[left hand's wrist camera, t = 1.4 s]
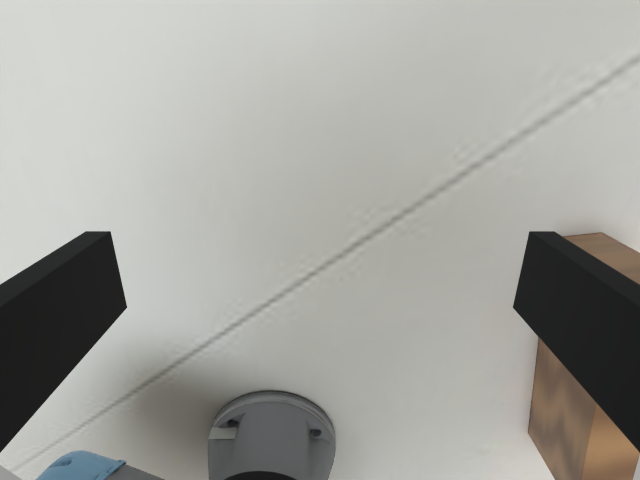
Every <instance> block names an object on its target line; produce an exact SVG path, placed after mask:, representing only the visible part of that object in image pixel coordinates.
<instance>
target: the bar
mask: <svg viewBox="0 0 640 480" xmlns="http://www.w3.org/2000/svg"><path fill="white" fill-rule="evenodd" d="M564 238H565V239H567V240H568V241H570V242H572V243H573V244H575V245H577V246H578V247H580V248H581V249H583V250H585V251H586V252H588V253H589V254H591V255H593V256H594V257H596V258H598V259H599V260H601V261H602V262H604V263H606V264H607V265H609V266H610V267H612V268H614V269H615V270H617V271H618V272H620V273H622V274H623V275H625V276H627V277H628V278H630V279H631V280H633V281H635V282H636V283H638V284H639V285H640V253H639V252H637V251H635V250H633V249H631V248H629V247H628V246H626V245H624V244H622V243H620V242H619V241H617V240H615V239H613V238H611V237H609V236H608V235H606V234H604V233H594V234H585V235H576V236H567V237H564ZM528 434H529V435H530V437H531V439H532V441H533V442H534V444H535V446H536V447H537V449H538V451H539V453H540V454H541V456H542V458H543V460H544V461H545V463H546V465H547V466H548V468H549V470H550V472H551V473H552V475H553V477H554V479H555V480H633V476H634V473H635V469H636V466H637V462H638V458H639V455H640V452H639V451H638V450H637V449H636V448H635V447H634V445H633V444H632V443H631V442H630V441H629V440H628V439H627V437H626V436H625V435H624V434H623V433H622V432H621V431H620V429H619V428H618V427H617V426H616V425H615V424H614V423H613V421H612V420H611V419H610V418H609V417H608V416H607V415H606V413H605V412H604V411H603V410H602V409H601V408H600V406H599V405H598V404H597V403H596V402H595V401H594V400H593V398H592V397H591V396H590V395H589V394H588V393H587V392H586V390H585V389H584V388H583V387H582V386H581V385H580V384H579V382H578V381H577V380H576V379H575V378H574V377H573V376H572V374H571V373H570V372H569V371H568V370H567V369H566V368H565V366H564V365H563V364H562V363H561V362H560V361H559V360H558V358H557V357H556V356H555V355H554V354H553V353H552V352H551V350H550V349H549V348H548V347H547V346H546V345H545V344H544V342H543V341H542V340H541V339H540V338H539V343H538V351H537V360H536V369H535V377H534V386H533V395H532V403H531V412H530V421H529V429H528Z"/></svg>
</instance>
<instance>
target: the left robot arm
mask: <svg viewBox="0 0 640 480" xmlns="http://www.w3.org/2000/svg"><path fill="white" fill-rule="evenodd" d="M126 308H127V305H126V301H125V296H124V291H123V287H122V282H121V278H120V273H119V268H118V264H117V259H116V255H115V250H114V245H113V241H112V236H111V232H84V233H83V234H81V235H80V236H78V237H76V238H75V239H73V240H72V241H70V242H68V243H67V244H65V245H63V246H62V247H60V248H59V249H57V250H55V251H54V252H52V253H51V254H49V255H47V256H46V257H44V258H42V259H41V260H39V261H38V262H36V263H34V264H33V265H31V266H30V267H28V268H26V269H25V270H23V271H22V272H20V273H18V274H17V275H15V276H13V277H12V278H10V279H9V280H7V281H5V282H4V283H2V284H1V285H0V452H1V451H2V450H3V449H4V448H5V447H6V445H7V444H8V443H9V442H10V441H11V440H12V439H13V437H14V436H15V435H16V434H17V433H18V432H19V431H20V429H21V428H22V427H23V426H24V425H25V424H26V423H27V421H28V420H29V419H30V418H31V417H32V416H33V415H34V413H35V412H36V411H37V410H38V409H39V408H40V406H41V405H42V404H43V403H44V402H45V401H46V400H47V398H48V397H49V396H50V395H51V394H52V393H53V392H54V390H55V389H56V388H57V387H58V386H59V385H60V384H61V382H62V381H63V380H64V379H65V378H66V377H67V376H68V374H69V373H70V372H71V371H72V370H73V369H74V368H75V366H76V365H77V364H78V363H79V362H80V361H81V360H82V358H83V357H84V356H85V355H86V354H87V353H88V352H89V350H90V349H91V348H92V347H93V346H94V345H95V344H96V342H97V341H98V340H99V339H100V338H101V337H102V335H103V334H104V333H105V332H106V331H107V330H108V329H109V327H110V326H111V325H112V324H113V323H114V322H115V321H116V319H117V318H118V317H119V316H120V315H121V314H122V313H123V311H124V310H125V309H126ZM513 308H514V309H515V310H516V311H517V313H518V314H519V315H520V316H521V317H522V318H523V319H524V321H525V322H526V323H527V324H528V325H529V326H530V327H531V329H532V330H533V331H534V332H535V333H536V334H537V335H538V337H539V338H540V339H541V340H542V341H543V342H544V344H545V345H546V346H547V347H548V348H549V349H550V350H551V352H552V353H553V354H554V355H555V356H556V357H557V358H558V360H559V361H560V362H561V363H562V364H563V365H564V366H565V368H566V369H567V370H568V371H569V372H570V373H571V374H572V376H573V377H574V378H575V379H576V380H577V381H578V382H579V384H580V385H581V386H582V387H583V388H584V389H585V390H586V392H587V393H588V394H589V395H590V396H591V397H592V398H593V400H594V401H595V402H596V403H597V404H598V405H599V406H600V408H601V409H602V410H603V411H604V412H605V413H606V415H607V416H608V417H609V418H610V419H611V420H612V421H613V423H614V424H615V425H616V426H617V427H618V428H619V429H620V431H621V432H622V433H623V434H624V435H625V436H626V437H627V439H628V440H629V441H630V442H631V443H632V444H633V445H634V447H635V448H636V449H637V450H638V451H639V452H640V285H639V284H638V283H636V282H635V281H633V280H631V279H630V278H628V277H627V276H625V275H623V274H622V273H620V272H618V271H617V270H615V269H614V268H612V267H610V266H609V265H607V264H606V263H604V262H602V261H601V260H599V259H598V258H596V257H594V256H593V255H591V254H589V253H588V252H586V251H585V250H583V249H581V248H580V247H578V246H577V245H575V244H573V243H572V242H570V241H568V240H567V239H565V238H564V237H562V236H560V235H559V234H557V233H556V232H529V236H528V241H527V245H526V250H525V255H524V259H523V264H522V268H521V273H520V278H519V282H518V287H517V291H516V296H515V301H514V305H513ZM208 439H209V440H208V466H209V480H328V477H329V474H330V471H331V468H332V465H333V461H334V456H335V433H334V429H333V426H332V424H331V422H330V420H329V419H328V417H327V416H326V415H325V413H324V412H323V411H322V410H321V409H319V408H318V407H317V406H316V405H314V404H313V403H311V402H310V401H308V400H306V399H304V398H301V397H299V396H296V395H292V394H288V393H283V392H273V391H266V392H257V393H251V394H247V395H244V396H242V397H239V398H237V399H235V400H233V401H232V402H230V403H229V404H227V405H226V406H225V407H224V408H223V409H222V410H221V411H220V412H219V413H218V415H217V416H216V418H215V420H214V423H213V425H212V428H211V431H210V434H209V437H208ZM36 480H164V479H161V478H159V477H156V476H154V475H151V474H149V473H146V472H144V471H141V470H139V469H136V468H134V467H131V466H129V465H126V461H124V460H119V461H116V460H113V459H110V458H106V457H103V456H100V455H97V454H94V453H91V452H87V451H74V452H71V453H68V454H66V455H64V456H62V457H61V458H59V459H58V460H56V461H55V462H54V463H53V464H51V465H50V466H49V467H48V468H47V469H46V470H45V471H44V472H43V473H42V474H41V475H40V476H39V477H38V478H37V479H36Z"/></svg>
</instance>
